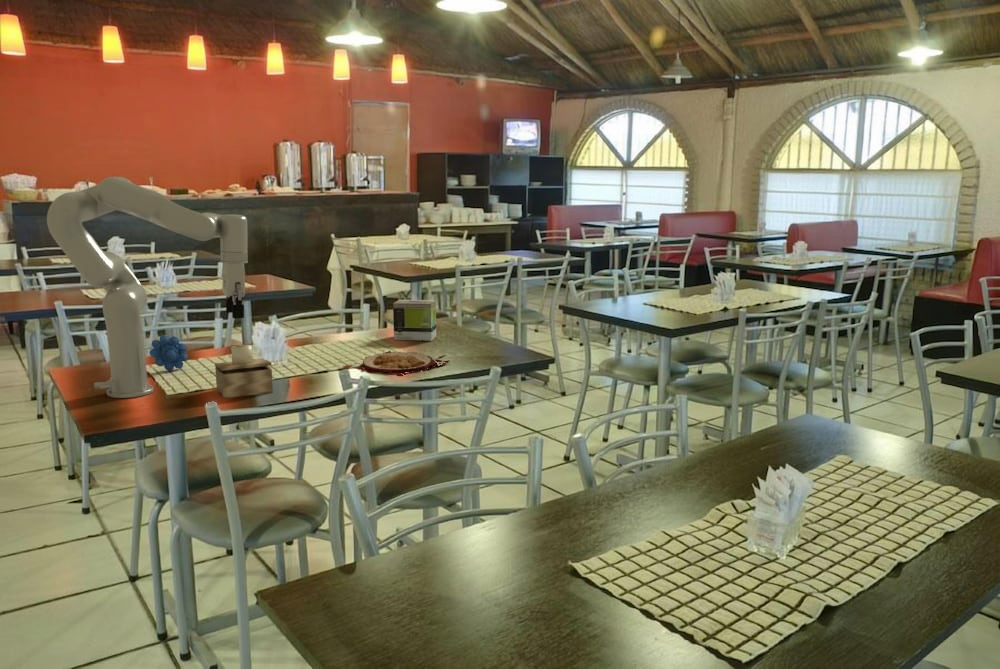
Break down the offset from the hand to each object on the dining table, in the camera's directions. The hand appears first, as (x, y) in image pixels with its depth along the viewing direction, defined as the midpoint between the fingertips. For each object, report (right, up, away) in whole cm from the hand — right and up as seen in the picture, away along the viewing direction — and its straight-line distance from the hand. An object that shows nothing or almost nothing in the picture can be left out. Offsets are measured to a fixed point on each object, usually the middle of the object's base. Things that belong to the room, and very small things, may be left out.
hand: (235, 315), depth 241 cm
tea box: (+45, -7, +78) cm, 90 cm away
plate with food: (+43, -17, +34) cm, 58 cm away
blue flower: (-29, -18, +24) cm, 42 cm away
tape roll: (+2, -14, 0) cm, 14 cm away
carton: (+2, -22, +2) cm, 23 cm away
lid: (+2, -15, 0) cm, 15 cm away
